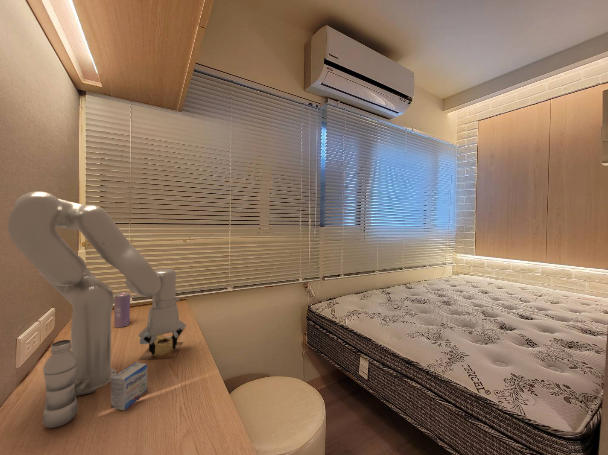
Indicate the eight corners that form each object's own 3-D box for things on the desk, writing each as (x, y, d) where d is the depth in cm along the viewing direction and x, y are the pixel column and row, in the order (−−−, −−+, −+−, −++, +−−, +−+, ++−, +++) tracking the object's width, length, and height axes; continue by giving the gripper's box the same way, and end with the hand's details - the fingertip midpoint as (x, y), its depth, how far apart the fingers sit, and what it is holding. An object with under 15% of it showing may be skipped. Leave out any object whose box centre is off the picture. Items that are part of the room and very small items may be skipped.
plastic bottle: (74, 408, 69) (75, 334, 69) (80, 421, 65) (81, 342, 64) (40, 422, 64) (40, 342, 64) (44, 437, 60) (44, 352, 59)
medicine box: (124, 411, 69) (124, 379, 68) (110, 408, 70) (110, 377, 69) (147, 392, 76) (148, 363, 76) (134, 390, 77) (135, 361, 77)
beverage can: (132, 323, 125) (133, 292, 124) (122, 328, 119) (123, 296, 118) (121, 322, 125) (121, 292, 125) (110, 327, 119) (111, 295, 119)
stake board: (174, 360, 93) (174, 347, 93) (137, 363, 91) (137, 349, 91) (183, 344, 106) (183, 332, 106) (151, 346, 104) (151, 333, 103)
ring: (174, 353, 96) (175, 341, 96) (155, 359, 92) (155, 347, 92) (167, 343, 104) (167, 332, 104) (149, 348, 100) (149, 336, 100)
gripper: (185, 296, 105) (184, 340, 105) (134, 304, 93) (134, 353, 94) (191, 301, 99) (190, 347, 99) (138, 310, 88) (137, 362, 88)
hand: (163, 349), depth 97 cm, fingers closed on ring, 6 cm apart
